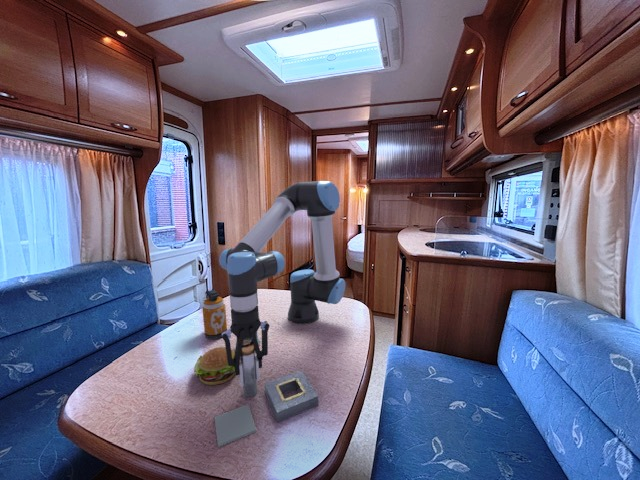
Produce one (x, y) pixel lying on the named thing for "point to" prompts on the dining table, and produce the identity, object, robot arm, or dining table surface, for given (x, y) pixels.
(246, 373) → the key peg
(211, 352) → the food
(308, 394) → the plate
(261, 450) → the dining table surface
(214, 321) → the canister
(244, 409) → the rest pad
